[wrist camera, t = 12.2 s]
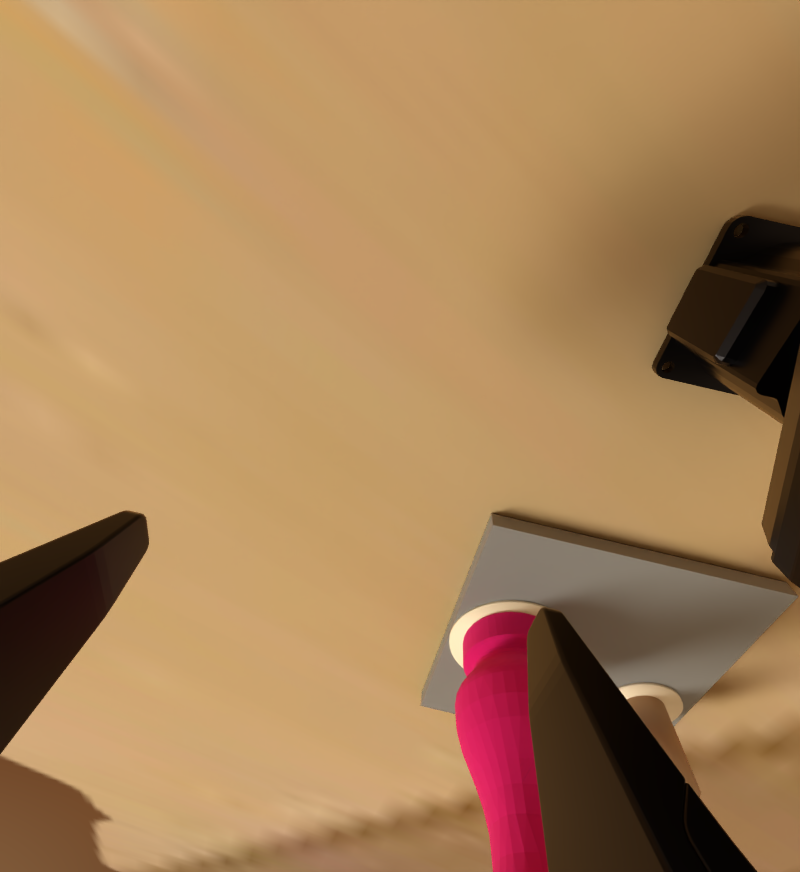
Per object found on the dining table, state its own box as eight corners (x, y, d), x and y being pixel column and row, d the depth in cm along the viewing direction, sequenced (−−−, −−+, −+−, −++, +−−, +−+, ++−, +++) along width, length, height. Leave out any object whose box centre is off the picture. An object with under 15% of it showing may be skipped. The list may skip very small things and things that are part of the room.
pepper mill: (588, 617, 26) (873, 1513, 8) (551, 687, 29) (694, 1419, 12) (468, 594, 26) (491, 1414, 8) (445, 667, 29) (429, 1351, 12)
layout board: (786, 582, 24) (877, 687, 19) (638, 743, 33) (672, 846, 28) (491, 513, 24) (501, 598, 19) (421, 692, 33) (415, 784, 28)
